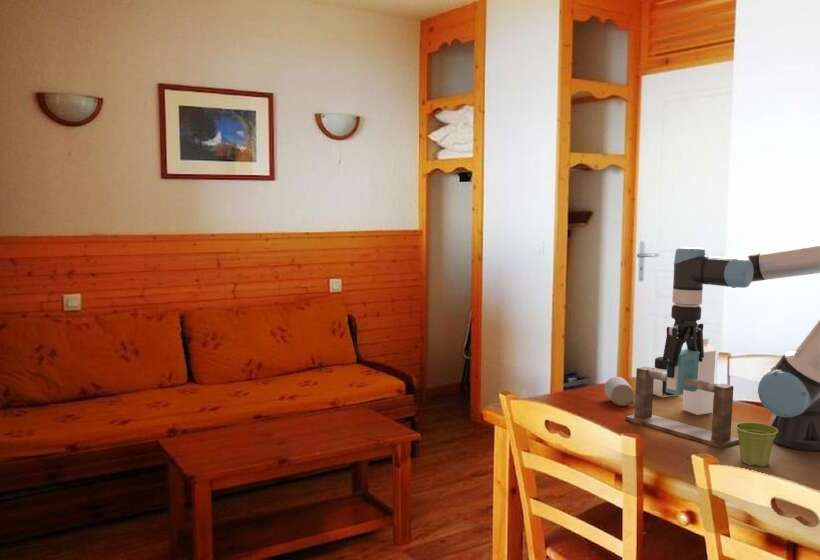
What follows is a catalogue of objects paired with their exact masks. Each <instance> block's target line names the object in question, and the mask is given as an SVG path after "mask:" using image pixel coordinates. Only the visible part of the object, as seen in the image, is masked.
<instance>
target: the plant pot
mask: <svg viewBox="0 0 820 560" xmlns="http://www.w3.org/2000/svg"><path fill="white" fill-rule="evenodd" d="M735 429H736V431H737V435H738V439H739V443H738V444H739V452H740V453H739V454H740V460H741V462H742V463H743V462H744V463H743V464H746V465H749V466H757V467H766V466H768V465H769V463H770V459H771V453H772V449H773V446H774V445H773V444H774V442H773V441H774V439H775V437H776V434H777V433H778V429H777V428H775V427H773V426H771V425H769V424H765V423H760V422H754V421H751V422H749V421H745V422H744V421H743V422H739V423H738V422H737V423H735Z"/></svg>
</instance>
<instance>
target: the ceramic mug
mask: <svg viewBox="0 0 820 560" xmlns="http://www.w3.org/2000/svg"><path fill="white" fill-rule="evenodd" d="M604 393H605V395H606V397H607V398H608V399H609V400H610V402H612V403H613V404H615V405H616V406H619V407H626V406H628V405H630V404H631V403H633V404H635V393H634V390H633V387H632V386H631V385H630V383H628V381H627V380H626V379H625V378H623V377H621V376H613V377H611V378H609V379H608V380H607V381H606V382H605V385H604Z"/></svg>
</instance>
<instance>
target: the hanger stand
mask: <svg viewBox="0 0 820 560" xmlns="http://www.w3.org/2000/svg"><path fill="white" fill-rule="evenodd" d="M666 377H667V373H665V372H661V371H656V370H655V367H652V366H651V367H650V366H646V365H645V366H641V367H637V368H636V374H635V393H634V395H635V403H634V413H633V414H631V415H627V416H625V421H628V422H632V423H635V424H638V425H641V426H646V427H649V428H652V429H655V430H659V431H662V432H665V433H669V434H671V435H674V436H675V435H676V436H679V437H682V438H686V439H689V440H693V441H695V442H700V443H702V444H707V445H709V446H711V447H712V446H713V447H716V448H719V449H722V448H723V449H726V448H729V447H731V445H732V446H734V444H735V445H738V444H739V437H738V438H737V437H734V436H731V435H732V434H731V433H732V431H731V430H732V417H733V404H734V403H733V401H734V385H731V384H727V383H720V384H719V383H715V382H714V383H710V382H705V381H701V380H697V379H692V378H688V377H684V386H687V387H691V388H696V389H700V390H704V391H708V392H713V407H712V419H711V420H712V422H711V424H712V425H711V430H709V429H705V428H702V427H698V426H694V425H691V424H688V423H684V422H679V421H677V420H674V419H673V420H672V419H669V418H665V417H663V416H659V415H655V414H653V402H654V401H653V399H654V394H653V383H654V379H657V380H662V381H666ZM728 446H729V447H728Z"/></svg>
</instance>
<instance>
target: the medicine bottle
mask: <svg viewBox="0 0 820 560" xmlns="http://www.w3.org/2000/svg"><path fill="white" fill-rule="evenodd" d="M662 360H663V356H657V357H656V358H655V359H654V370H656V371H661V372H665V373H667V365H666V364H664V363H662ZM653 396H657V397H660V398H668V397H676V396H679V395H675V394H671V393H667V392H666V381H662V380H657V379H654V383H653Z"/></svg>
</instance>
